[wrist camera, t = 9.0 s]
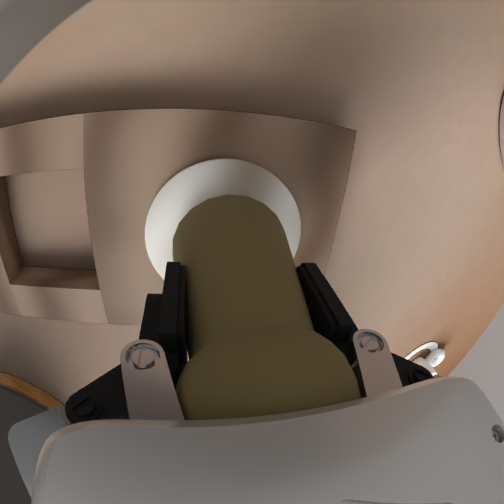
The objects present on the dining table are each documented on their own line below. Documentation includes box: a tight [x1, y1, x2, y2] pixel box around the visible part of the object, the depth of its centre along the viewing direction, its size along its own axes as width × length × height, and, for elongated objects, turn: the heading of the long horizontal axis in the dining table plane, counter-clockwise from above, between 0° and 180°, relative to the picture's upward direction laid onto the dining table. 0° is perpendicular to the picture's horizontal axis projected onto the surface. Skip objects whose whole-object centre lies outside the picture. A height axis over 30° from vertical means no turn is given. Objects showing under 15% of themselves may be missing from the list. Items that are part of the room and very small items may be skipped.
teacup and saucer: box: [405, 342, 445, 376], centre depth 33 cm, size 9×8×4 cm
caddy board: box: [0, 108, 356, 325], centre depth 16 cm, size 26×14×3 cm, turn 84°
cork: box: [172, 194, 361, 420], centre depth 10 cm, size 6×6×11 cm
